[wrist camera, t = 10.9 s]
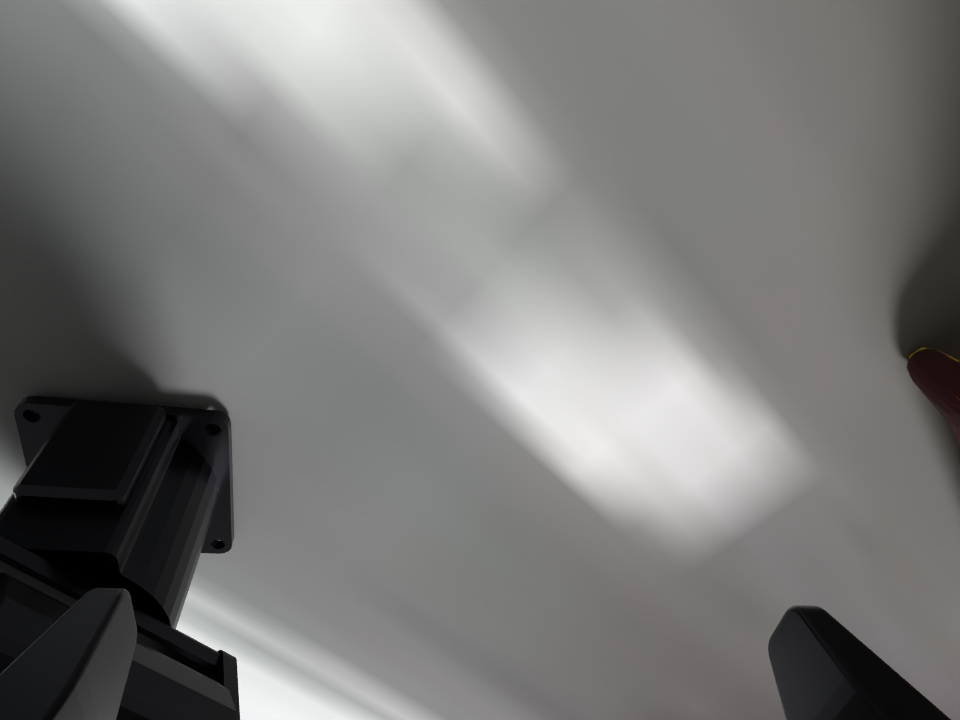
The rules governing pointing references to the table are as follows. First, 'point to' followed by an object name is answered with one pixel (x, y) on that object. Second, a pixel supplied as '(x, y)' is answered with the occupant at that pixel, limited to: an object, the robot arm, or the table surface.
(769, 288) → the table surface
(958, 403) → the decorative lantern
